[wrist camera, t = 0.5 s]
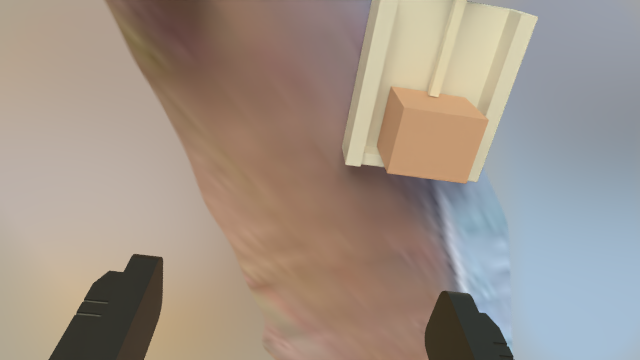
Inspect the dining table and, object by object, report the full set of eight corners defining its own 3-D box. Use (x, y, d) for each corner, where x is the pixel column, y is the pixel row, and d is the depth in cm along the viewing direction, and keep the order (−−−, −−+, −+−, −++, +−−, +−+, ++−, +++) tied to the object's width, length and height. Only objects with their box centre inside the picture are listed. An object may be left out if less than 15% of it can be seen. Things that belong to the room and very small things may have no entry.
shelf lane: (374, -16, 33) (382, -11, 30) (516, 10, 34) (538, 16, 31) (341, 146, 39) (345, 164, 36) (463, 163, 40) (477, 182, 37)
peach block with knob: (430, -94, 30) (458, -101, 25) (515, -77, 31) (560, -80, 25) (374, 140, 38) (387, 173, 32) (443, 150, 38) (466, 183, 33)
